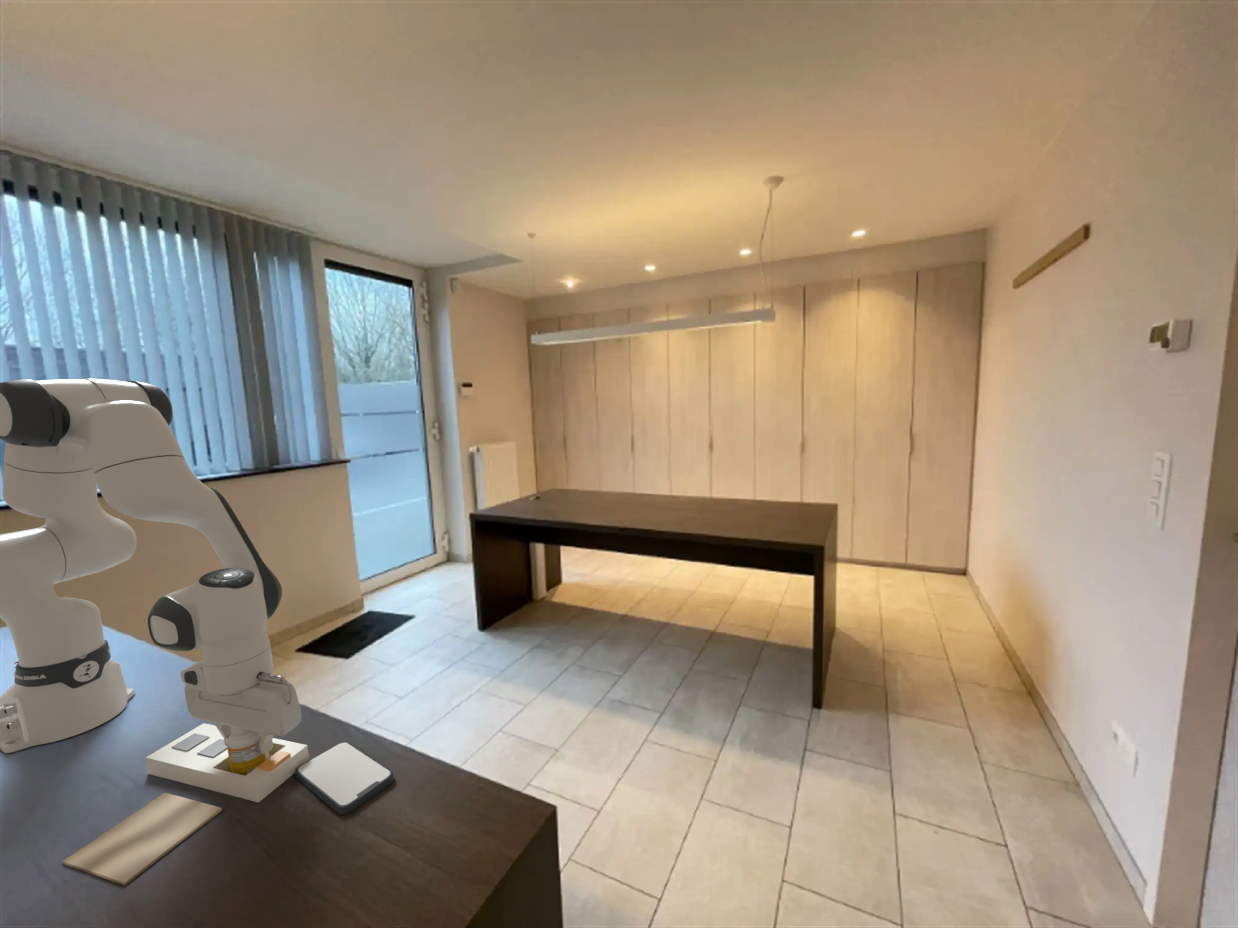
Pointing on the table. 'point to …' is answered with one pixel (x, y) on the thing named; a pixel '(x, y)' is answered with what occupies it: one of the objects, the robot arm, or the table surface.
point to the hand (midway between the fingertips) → (249, 747)
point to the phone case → (344, 777)
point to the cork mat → (142, 838)
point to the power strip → (224, 764)
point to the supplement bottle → (244, 751)
